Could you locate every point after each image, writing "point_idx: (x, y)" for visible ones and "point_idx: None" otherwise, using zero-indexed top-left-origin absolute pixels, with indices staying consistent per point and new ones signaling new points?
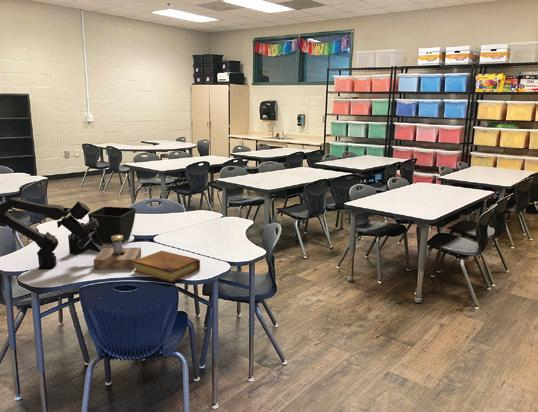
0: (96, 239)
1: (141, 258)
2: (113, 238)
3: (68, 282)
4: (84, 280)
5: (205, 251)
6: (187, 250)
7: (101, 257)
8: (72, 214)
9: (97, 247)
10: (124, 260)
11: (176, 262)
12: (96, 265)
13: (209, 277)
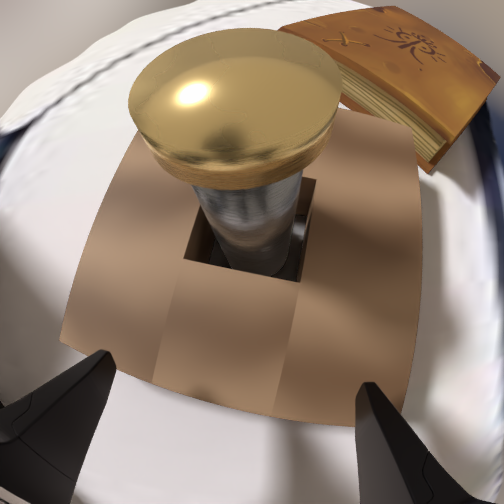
0: (52, 432)
1: (413, 96)
2: (325, 122)
3: (487, 471)
4: (496, 411)
5: (219, 5)
6: (186, 27)
7: (340, 370)
8: None
9: (409, 426)
10: (415, 182)
11: (435, 39)
12: None
13: None
